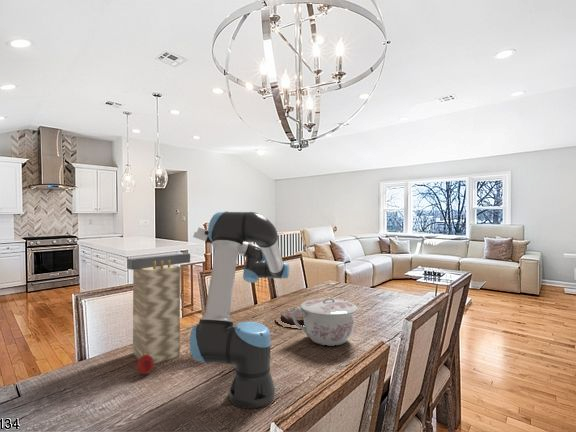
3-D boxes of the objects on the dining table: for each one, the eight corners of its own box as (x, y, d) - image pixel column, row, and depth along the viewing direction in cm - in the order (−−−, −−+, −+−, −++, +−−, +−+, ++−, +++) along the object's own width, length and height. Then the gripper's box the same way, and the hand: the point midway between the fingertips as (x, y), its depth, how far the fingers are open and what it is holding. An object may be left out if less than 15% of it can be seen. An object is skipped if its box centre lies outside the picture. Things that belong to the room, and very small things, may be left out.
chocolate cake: (267, 326, 174) (267, 314, 174) (284, 311, 200) (284, 301, 200) (317, 333, 165) (317, 320, 165) (328, 316, 191) (328, 306, 191)
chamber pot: (365, 337, 159) (365, 295, 159) (345, 358, 135) (346, 309, 135) (314, 326, 173) (314, 288, 173) (288, 344, 150) (289, 299, 150)
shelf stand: (145, 366, 126) (146, 262, 126) (132, 353, 138) (133, 258, 138) (179, 356, 136) (180, 259, 136) (165, 344, 148) (165, 256, 148)
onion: (149, 369, 124) (149, 348, 124) (156, 373, 121) (156, 352, 121) (134, 374, 120) (134, 353, 120) (141, 379, 116) (141, 357, 116)
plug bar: (131, 269, 128) (131, 259, 128) (127, 268, 130) (127, 258, 130) (190, 262, 149) (190, 253, 149) (185, 261, 151) (185, 253, 151)
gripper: (233, 242, 172) (195, 229, 166) (246, 235, 150) (202, 220, 143) (229, 255, 170) (190, 242, 163) (241, 250, 147) (196, 236, 141)
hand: (195, 232), depth 153 cm, fingers open, 13 cm apart
